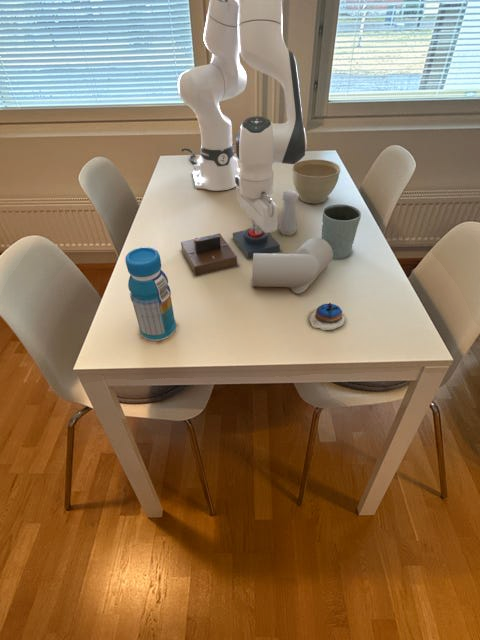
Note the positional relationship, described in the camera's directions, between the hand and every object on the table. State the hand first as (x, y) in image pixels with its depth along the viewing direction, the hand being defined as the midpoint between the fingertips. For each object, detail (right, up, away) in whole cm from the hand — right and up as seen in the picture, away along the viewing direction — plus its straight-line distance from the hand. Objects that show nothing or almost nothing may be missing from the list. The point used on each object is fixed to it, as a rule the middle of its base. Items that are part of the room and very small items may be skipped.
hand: (256, 232), depth 116 cm
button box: (0, -3, +3) cm, 4 cm away
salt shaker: (+10, +2, +8) cm, 13 cm away
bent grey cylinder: (+8, -15, -10) cm, 19 cm away
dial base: (-14, -8, -2) cm, 16 cm away
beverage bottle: (-24, -28, -23) cm, 43 cm away
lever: (-14, -5, -4) cm, 15 cm away
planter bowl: (+21, +18, +26) cm, 38 cm away
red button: (0, -1, +1) cm, 2 cm away
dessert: (+15, -26, -22) cm, 37 cm away
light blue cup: (+23, -6, 0) cm, 23 cm away
